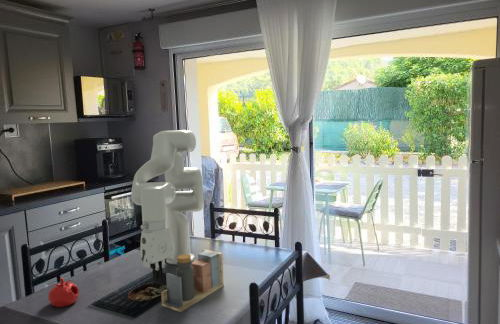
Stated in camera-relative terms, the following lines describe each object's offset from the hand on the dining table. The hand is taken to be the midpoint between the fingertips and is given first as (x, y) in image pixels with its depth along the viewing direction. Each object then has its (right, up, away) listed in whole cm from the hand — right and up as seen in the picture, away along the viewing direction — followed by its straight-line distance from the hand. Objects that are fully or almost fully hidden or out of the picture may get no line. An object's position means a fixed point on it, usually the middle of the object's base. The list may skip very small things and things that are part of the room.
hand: (158, 280), depth 123 cm
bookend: (+4, -10, +6) cm, 13 cm away
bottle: (+7, -10, +12) cm, 17 cm away
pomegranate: (-37, -12, +13) cm, 41 cm away
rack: (+9, -10, +15) cm, 20 cm away
